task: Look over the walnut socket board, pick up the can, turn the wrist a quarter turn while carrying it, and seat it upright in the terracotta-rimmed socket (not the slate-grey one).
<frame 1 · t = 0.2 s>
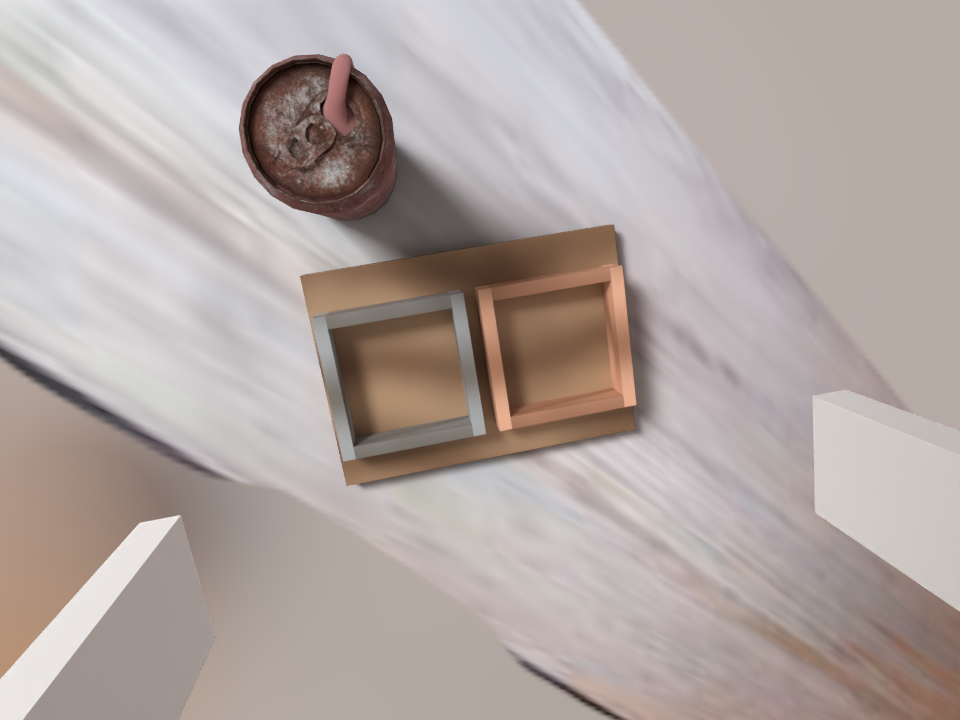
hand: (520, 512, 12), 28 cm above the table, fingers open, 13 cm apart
board: (475, 353, 40), on the table
can: (347, 167, 37), on the table
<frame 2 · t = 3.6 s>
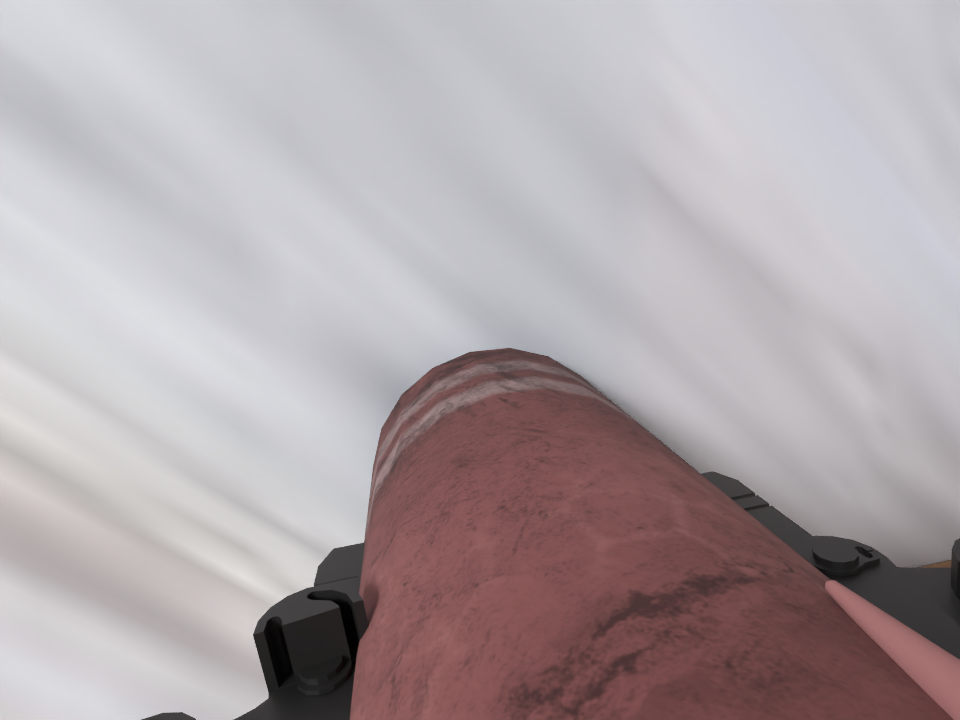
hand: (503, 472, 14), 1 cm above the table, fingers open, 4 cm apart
can: (495, 452, 16), on the table
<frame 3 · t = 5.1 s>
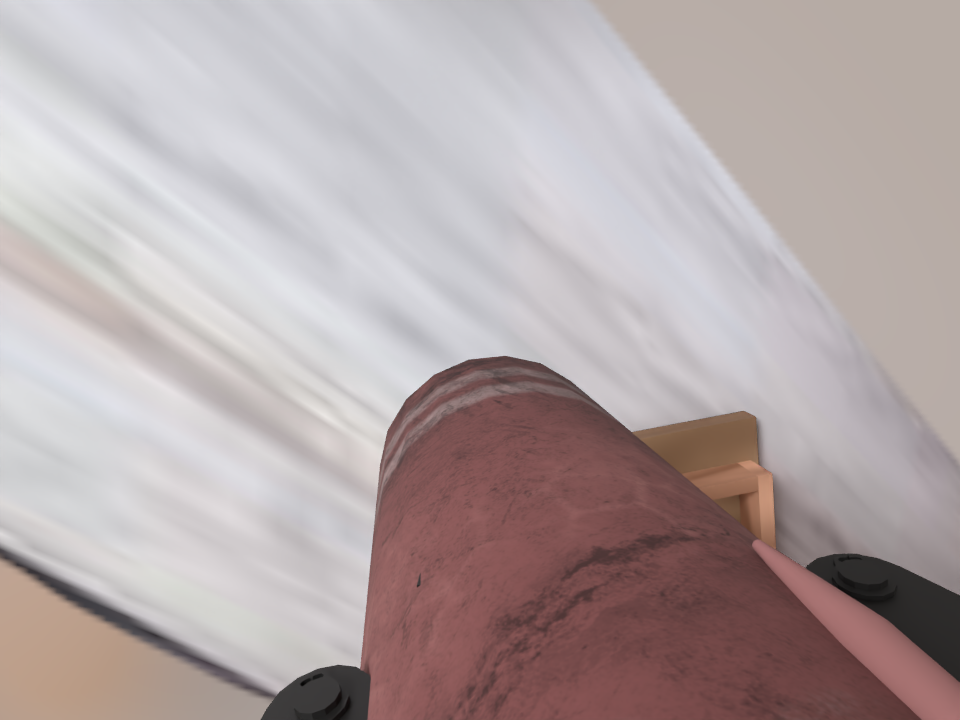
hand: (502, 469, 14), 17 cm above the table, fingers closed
board: (587, 557, 35), on the table
can: (492, 453, 17), point 15 cm above the table, touching hand
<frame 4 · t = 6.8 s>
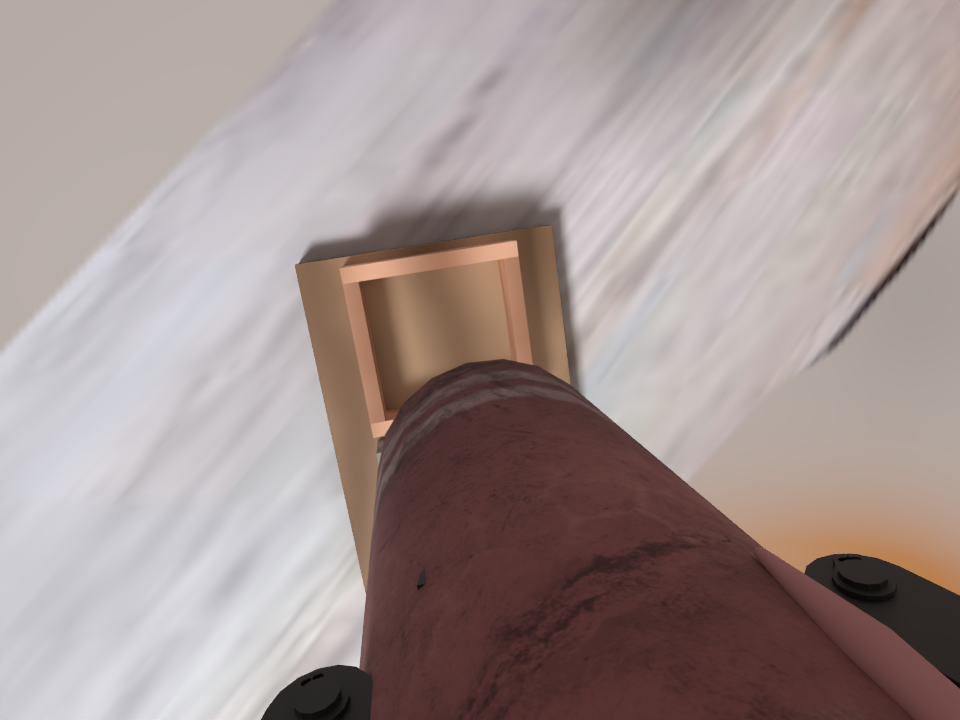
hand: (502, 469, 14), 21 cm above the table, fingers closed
board: (453, 413, 36), on the table
can: (490, 456, 17), point 19 cm above the table, touching hand
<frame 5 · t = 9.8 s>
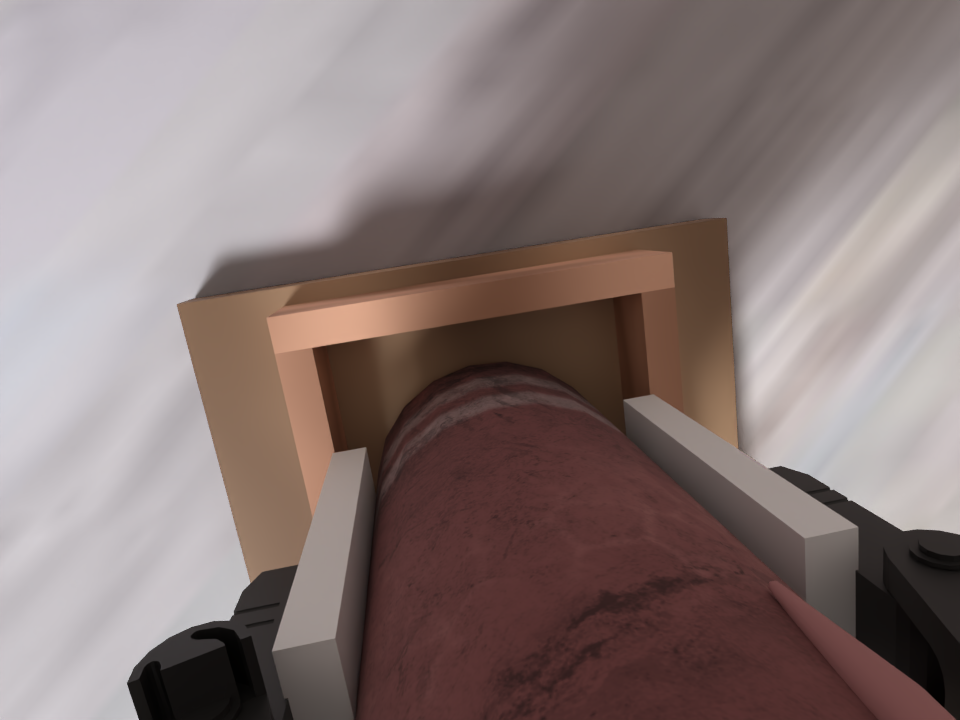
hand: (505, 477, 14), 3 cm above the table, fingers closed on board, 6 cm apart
board: (508, 581, 18), on the table
can: (493, 459, 16), point 1 cm above the table, touching board
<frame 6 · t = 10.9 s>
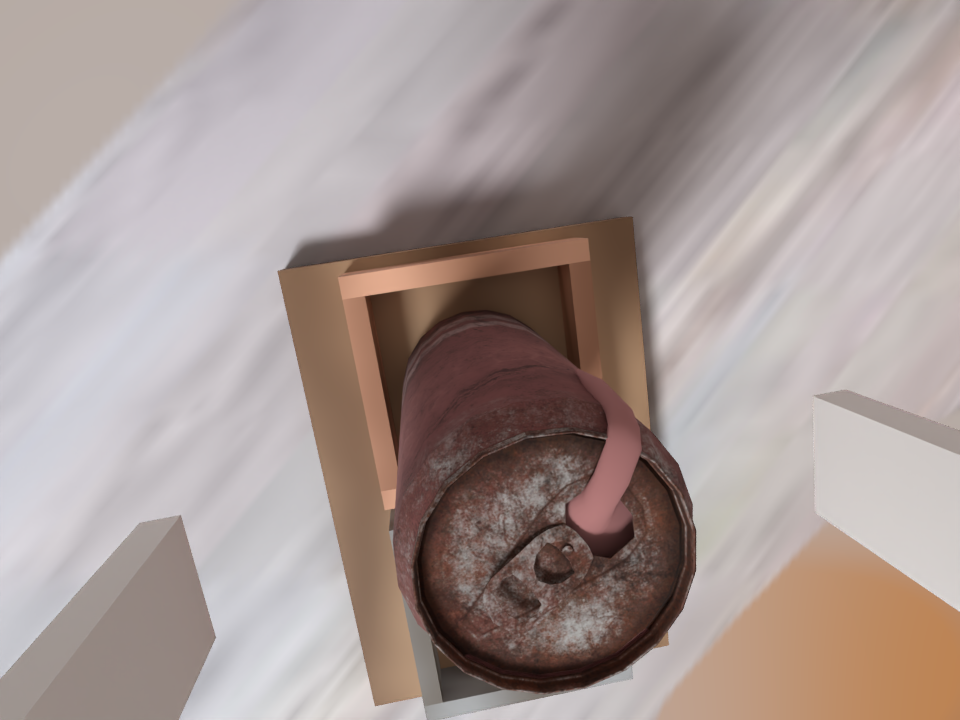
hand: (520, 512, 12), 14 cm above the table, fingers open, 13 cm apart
board: (491, 467, 27), on the table
can: (479, 377, 25), point 1 cm above the table, touching board
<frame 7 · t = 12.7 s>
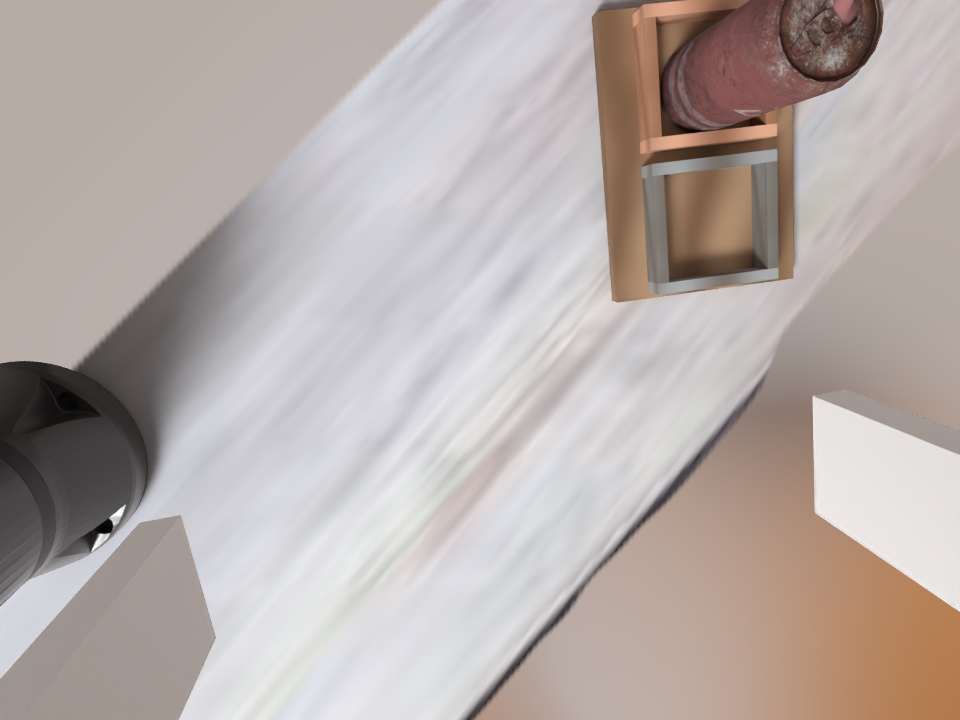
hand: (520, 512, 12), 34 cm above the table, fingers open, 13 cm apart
board: (693, 155, 45), on the table
can: (697, 87, 43), point 1 cm above the table, touching board
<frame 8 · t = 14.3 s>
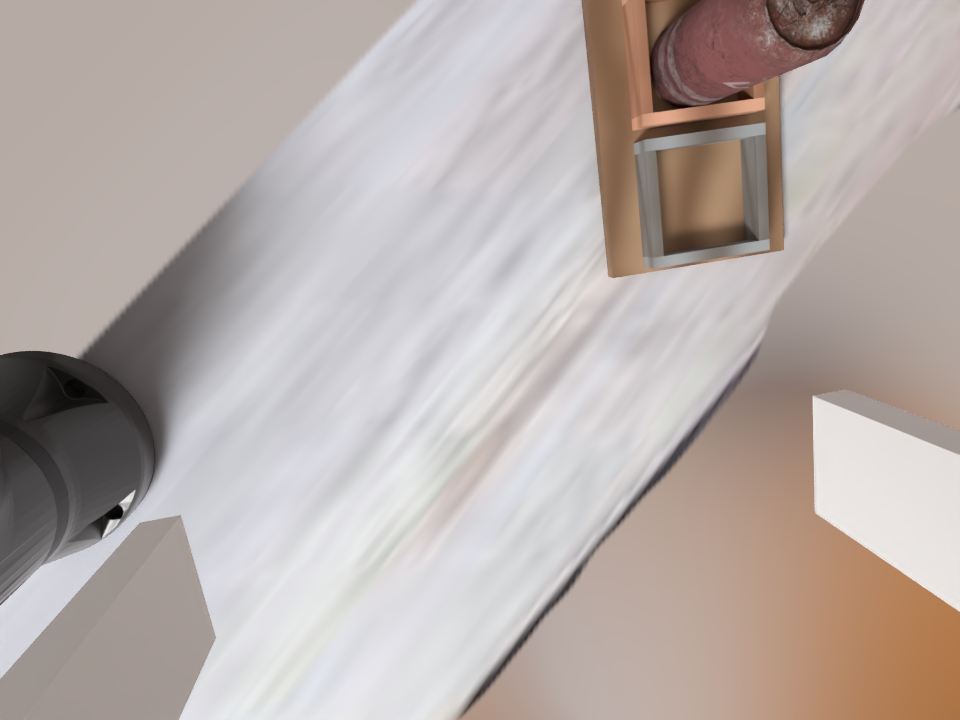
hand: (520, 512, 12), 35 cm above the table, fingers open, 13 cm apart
board: (684, 131, 46), on the table
can: (686, 64, 44), point 1 cm above the table, touching board
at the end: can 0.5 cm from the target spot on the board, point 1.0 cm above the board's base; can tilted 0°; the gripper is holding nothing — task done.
